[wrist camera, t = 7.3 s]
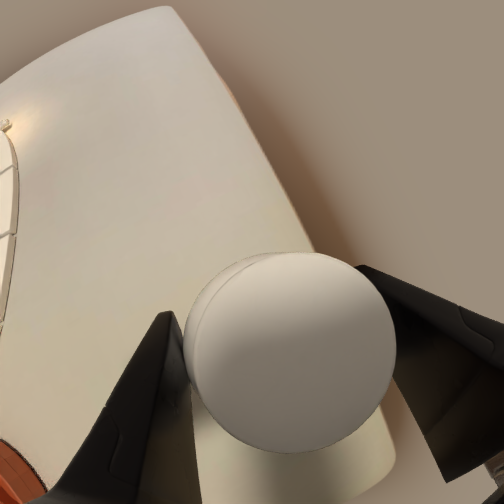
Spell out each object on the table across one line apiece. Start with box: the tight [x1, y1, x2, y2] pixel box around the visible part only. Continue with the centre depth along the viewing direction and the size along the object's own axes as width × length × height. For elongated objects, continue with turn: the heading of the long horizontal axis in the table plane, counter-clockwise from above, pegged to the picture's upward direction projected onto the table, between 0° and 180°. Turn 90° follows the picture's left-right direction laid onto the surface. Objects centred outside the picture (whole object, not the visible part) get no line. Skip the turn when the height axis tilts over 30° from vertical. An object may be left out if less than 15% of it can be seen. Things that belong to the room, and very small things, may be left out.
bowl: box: [0, 441, 46, 504], centre depth 11 cm, size 11×11×5 cm
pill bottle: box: [183, 252, 396, 454], centre depth 9 cm, size 6×5×10 cm
